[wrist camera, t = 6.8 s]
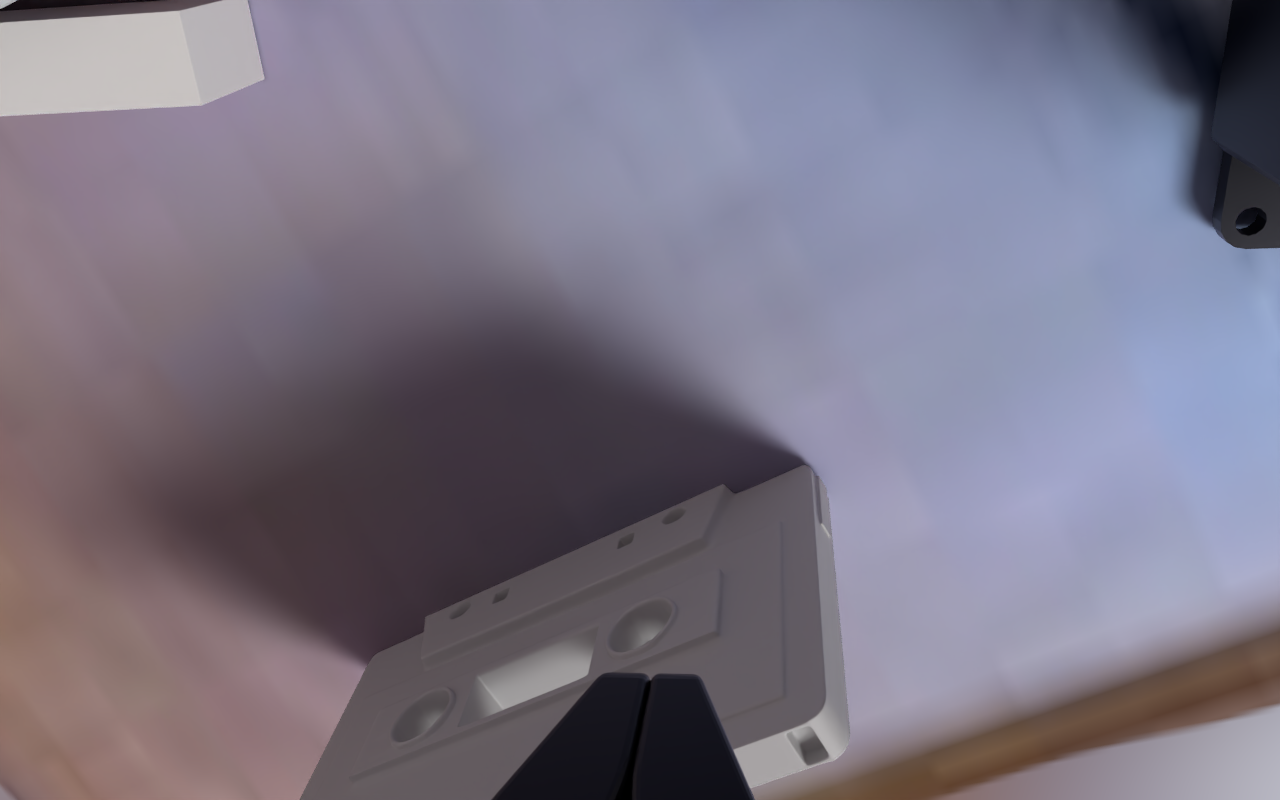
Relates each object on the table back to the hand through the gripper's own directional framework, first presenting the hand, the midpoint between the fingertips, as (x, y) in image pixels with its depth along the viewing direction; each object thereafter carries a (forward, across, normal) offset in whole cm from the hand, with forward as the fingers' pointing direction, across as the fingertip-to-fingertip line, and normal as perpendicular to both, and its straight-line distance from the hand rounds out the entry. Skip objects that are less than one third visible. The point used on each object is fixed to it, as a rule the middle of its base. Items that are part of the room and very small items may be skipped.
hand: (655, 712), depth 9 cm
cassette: (+13, +3, +8) cm, 16 cm away
